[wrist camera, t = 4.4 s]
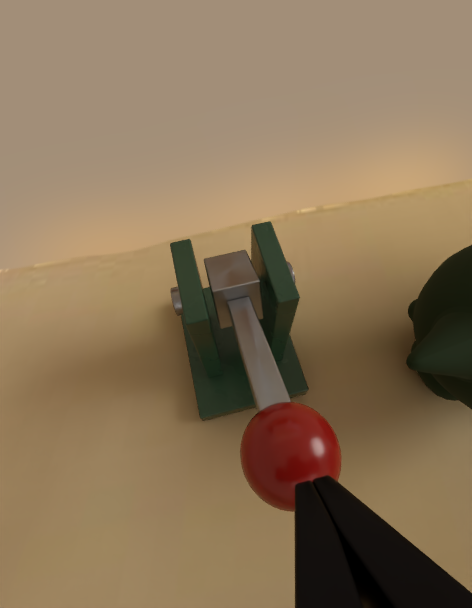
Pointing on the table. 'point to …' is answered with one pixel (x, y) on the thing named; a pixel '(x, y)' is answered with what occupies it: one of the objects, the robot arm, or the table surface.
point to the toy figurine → (445, 329)
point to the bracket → (222, 342)
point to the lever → (269, 395)
